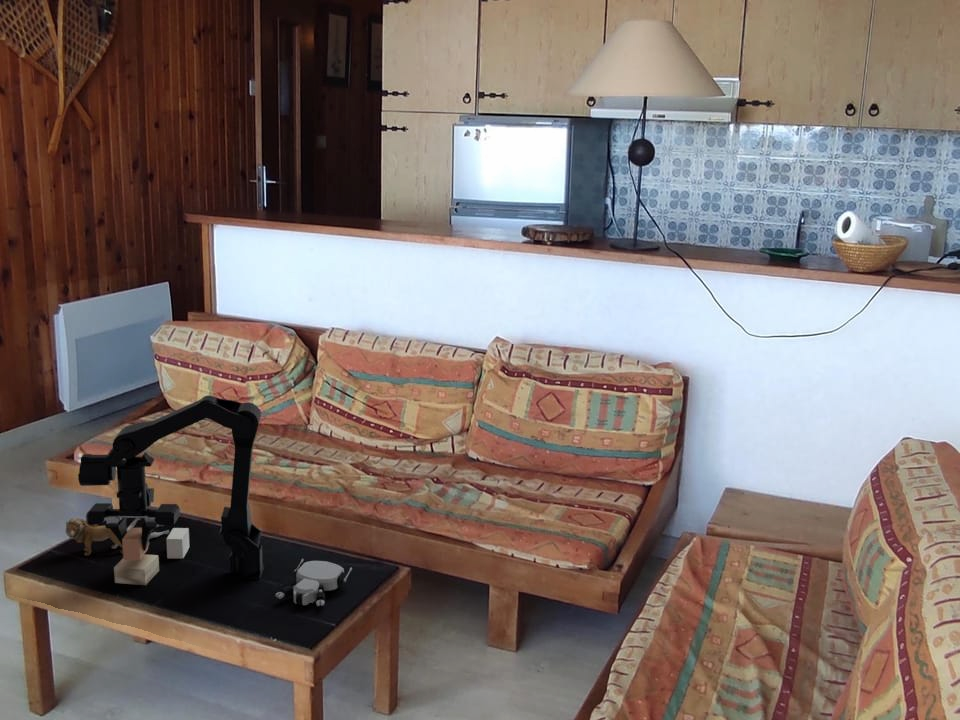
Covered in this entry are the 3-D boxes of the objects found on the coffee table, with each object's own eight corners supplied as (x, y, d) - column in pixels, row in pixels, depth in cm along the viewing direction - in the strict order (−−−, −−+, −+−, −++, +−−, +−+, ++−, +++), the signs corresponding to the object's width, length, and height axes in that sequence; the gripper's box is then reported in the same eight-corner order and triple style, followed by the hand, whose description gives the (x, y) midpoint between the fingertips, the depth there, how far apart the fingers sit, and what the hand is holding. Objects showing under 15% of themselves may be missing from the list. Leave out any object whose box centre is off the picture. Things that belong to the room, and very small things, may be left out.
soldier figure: (173, 542, 227) (130, 544, 217) (161, 551, 228) (118, 553, 219) (165, 514, 230) (122, 514, 220) (153, 523, 232) (111, 523, 222)
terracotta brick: (148, 548, 209) (147, 527, 208) (140, 560, 203) (139, 539, 202) (132, 548, 209) (130, 527, 207) (123, 560, 203) (122, 539, 202)
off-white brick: (189, 547, 222) (188, 528, 221) (183, 558, 216) (182, 539, 215) (174, 547, 222) (173, 528, 221) (167, 558, 216) (166, 538, 215)
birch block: (159, 571, 210) (158, 555, 209) (145, 586, 204) (144, 569, 203) (129, 569, 211) (128, 553, 210) (115, 583, 204) (113, 567, 203)
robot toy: (324, 618, 195) (353, 581, 208) (323, 599, 193) (353, 563, 207) (272, 608, 198) (304, 572, 212) (271, 589, 197) (303, 554, 210)
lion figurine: (66, 560, 213) (63, 524, 211) (68, 550, 218) (65, 515, 216) (134, 553, 218) (132, 517, 216) (134, 543, 223) (132, 508, 221)
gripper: (184, 471, 210) (187, 534, 214) (100, 470, 209) (105, 533, 213) (171, 490, 199) (175, 556, 203) (82, 489, 198) (88, 555, 202)
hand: (135, 549), depth 206 cm, fingers closed on terracotta brick, 4 cm apart
